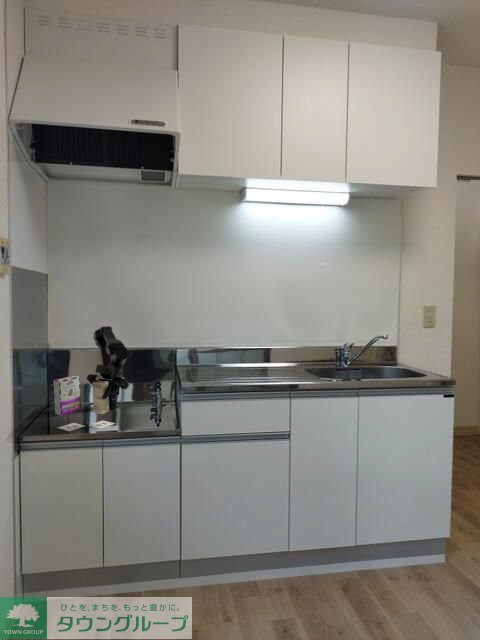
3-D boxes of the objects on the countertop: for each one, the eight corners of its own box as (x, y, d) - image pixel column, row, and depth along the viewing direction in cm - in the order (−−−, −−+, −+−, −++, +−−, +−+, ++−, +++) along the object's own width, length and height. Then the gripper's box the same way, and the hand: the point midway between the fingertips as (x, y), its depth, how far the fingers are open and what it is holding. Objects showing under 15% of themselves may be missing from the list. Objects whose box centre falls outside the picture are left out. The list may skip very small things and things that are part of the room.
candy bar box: (74, 408, 218) (73, 375, 217) (81, 410, 215) (80, 376, 214) (54, 414, 209) (52, 379, 207) (61, 416, 206) (59, 380, 205)
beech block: (100, 410, 196) (99, 380, 195) (109, 411, 194) (108, 381, 193) (93, 413, 192) (92, 382, 191) (102, 414, 190) (101, 383, 189)
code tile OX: (87, 425, 192) (87, 425, 192) (102, 420, 199) (102, 420, 199) (100, 429, 188) (100, 428, 188) (115, 423, 195) (115, 423, 195)
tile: (57, 428, 189) (57, 427, 189) (73, 423, 196) (73, 422, 196) (69, 431, 185) (69, 431, 185) (85, 426, 192) (85, 425, 192)
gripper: (88, 355, 198) (71, 386, 189) (123, 358, 191) (107, 390, 182) (101, 370, 206) (84, 399, 197) (135, 373, 199) (120, 404, 190)
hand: (98, 398), depth 191 cm, fingers closed on beech block, 4 cm apart
